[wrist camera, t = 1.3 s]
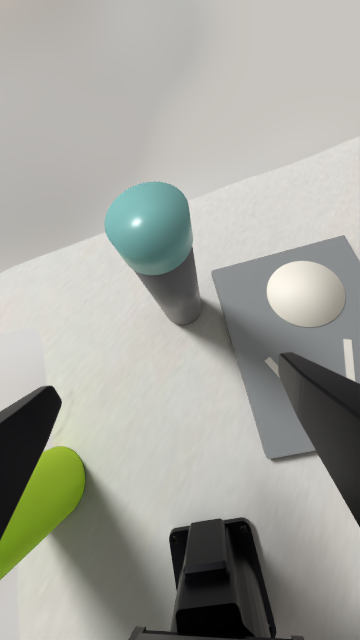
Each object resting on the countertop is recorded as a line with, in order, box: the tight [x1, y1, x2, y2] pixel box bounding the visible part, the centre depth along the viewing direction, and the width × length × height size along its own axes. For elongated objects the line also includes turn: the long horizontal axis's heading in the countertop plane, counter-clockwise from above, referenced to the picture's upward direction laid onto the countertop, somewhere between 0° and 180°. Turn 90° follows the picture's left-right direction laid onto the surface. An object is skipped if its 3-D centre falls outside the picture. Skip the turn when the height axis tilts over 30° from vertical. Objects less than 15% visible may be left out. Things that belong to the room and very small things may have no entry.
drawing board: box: [212, 235, 360, 459], centre depth 19 cm, size 18×14×1 cm
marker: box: [105, 182, 201, 325], centre depth 16 cm, size 4×4×13 cm
